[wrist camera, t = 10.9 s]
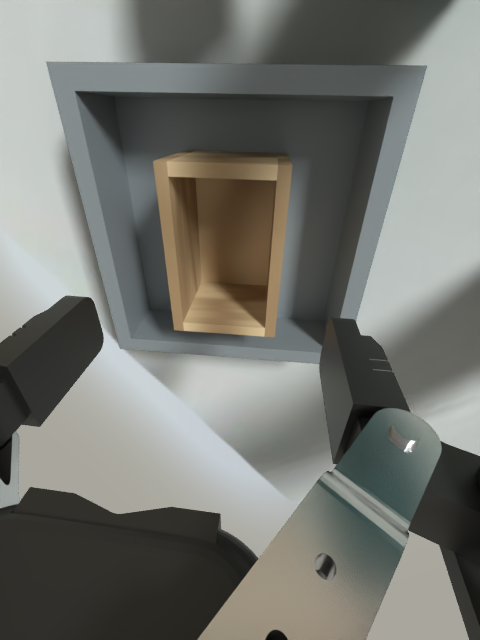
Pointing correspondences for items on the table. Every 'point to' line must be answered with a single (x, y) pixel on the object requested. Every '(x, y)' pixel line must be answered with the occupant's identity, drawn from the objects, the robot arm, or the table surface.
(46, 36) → the table surface
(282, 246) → the small oak crate
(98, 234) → the grey square tray
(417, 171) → the table surface
